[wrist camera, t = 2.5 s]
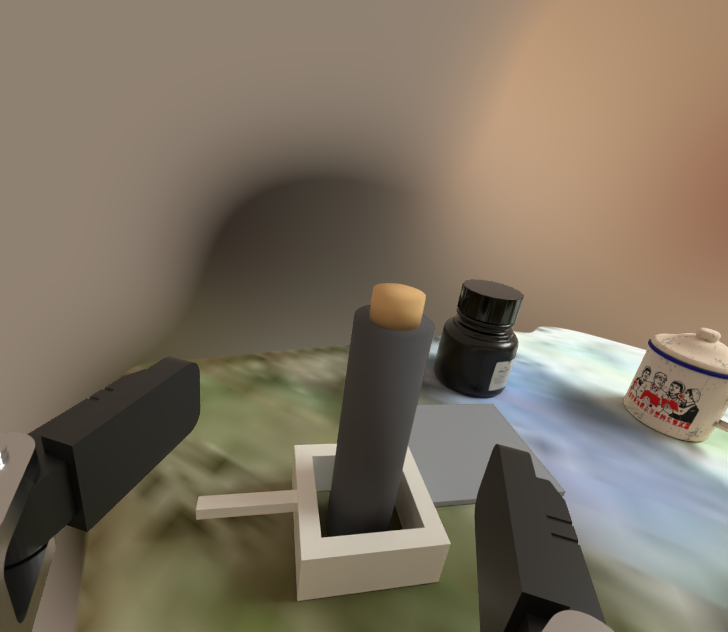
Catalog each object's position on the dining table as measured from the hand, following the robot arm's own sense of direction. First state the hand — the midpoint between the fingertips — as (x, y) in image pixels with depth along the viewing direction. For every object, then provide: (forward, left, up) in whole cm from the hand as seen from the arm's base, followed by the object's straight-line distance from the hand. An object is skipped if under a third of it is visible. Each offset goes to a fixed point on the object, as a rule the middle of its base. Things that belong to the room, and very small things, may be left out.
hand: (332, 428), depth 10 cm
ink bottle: (-23, -29, -18) cm, 41 cm away
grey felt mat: (-17, -17, -17) cm, 30 cm away
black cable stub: (-5, -10, -17) cm, 21 cm away
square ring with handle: (-2, -10, -17) cm, 20 cm away
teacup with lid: (-45, -19, -17) cm, 52 cm away
